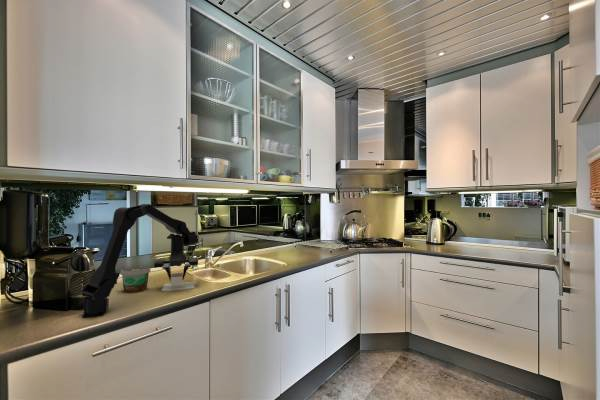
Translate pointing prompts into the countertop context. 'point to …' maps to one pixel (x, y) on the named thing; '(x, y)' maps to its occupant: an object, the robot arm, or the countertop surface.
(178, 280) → the card deck
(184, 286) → the sage mat
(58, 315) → the countertop surface
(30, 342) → the countertop surface
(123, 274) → the food container
